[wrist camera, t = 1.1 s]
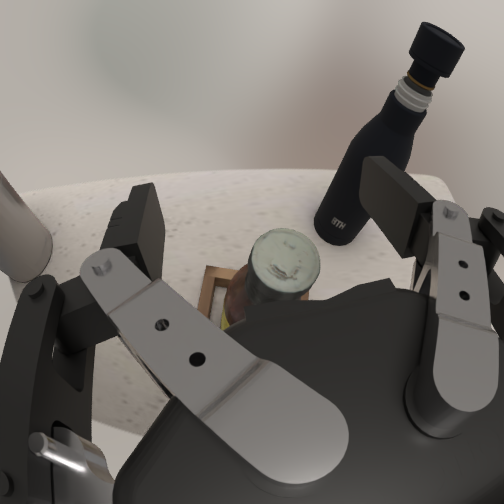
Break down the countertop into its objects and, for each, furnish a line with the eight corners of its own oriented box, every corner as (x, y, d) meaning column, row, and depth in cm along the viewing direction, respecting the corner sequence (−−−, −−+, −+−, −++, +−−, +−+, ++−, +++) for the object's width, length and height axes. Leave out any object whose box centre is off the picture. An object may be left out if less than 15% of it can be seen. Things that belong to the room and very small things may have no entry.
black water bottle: (351, 207, 43) (452, 30, 16) (360, 246, 41) (492, 69, 14) (310, 205, 43) (393, 5, 16) (317, 245, 40) (432, 39, 13)
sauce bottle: (235, 366, 33) (252, 341, 15) (211, 318, 35) (200, 238, 17) (286, 341, 34) (356, 286, 16) (261, 295, 36) (301, 199, 18)
